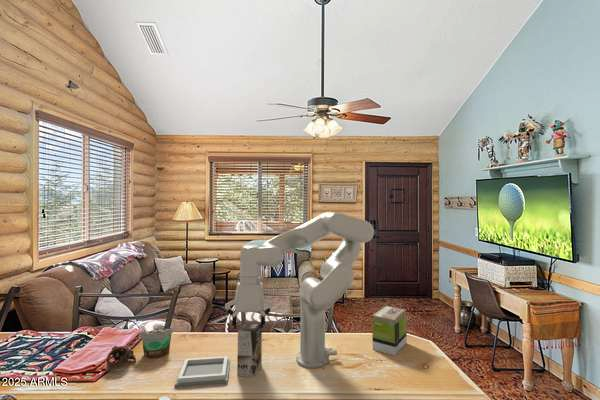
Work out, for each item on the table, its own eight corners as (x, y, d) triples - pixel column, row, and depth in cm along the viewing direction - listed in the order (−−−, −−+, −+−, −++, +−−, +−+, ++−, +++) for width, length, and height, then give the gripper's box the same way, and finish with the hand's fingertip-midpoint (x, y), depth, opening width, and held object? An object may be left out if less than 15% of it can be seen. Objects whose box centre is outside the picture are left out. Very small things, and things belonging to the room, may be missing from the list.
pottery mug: (142, 364, 121) (135, 351, 117) (118, 385, 115) (109, 371, 111) (127, 348, 128) (119, 334, 124) (102, 366, 122) (94, 353, 118)
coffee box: (254, 378, 112) (254, 331, 112) (236, 375, 113) (236, 329, 113) (262, 365, 121) (262, 321, 121) (246, 363, 122) (246, 320, 122)
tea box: (384, 337, 146) (385, 304, 146) (407, 343, 140) (407, 309, 140) (371, 349, 134) (371, 314, 134) (395, 356, 128) (395, 319, 128)
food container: (140, 363, 122) (140, 336, 122) (139, 356, 127) (139, 330, 127) (174, 356, 127) (175, 330, 127) (173, 349, 133) (173, 325, 133)
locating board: (229, 361, 123) (229, 354, 123) (227, 383, 108) (227, 376, 108) (183, 364, 121) (183, 358, 121) (174, 387, 106) (174, 380, 106)
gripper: (273, 277, 122) (271, 322, 122) (226, 277, 119) (224, 323, 119) (274, 282, 115) (273, 330, 115) (225, 282, 112) (223, 331, 112)
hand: (248, 326), depth 117 cm, fingers open, 9 cm apart
